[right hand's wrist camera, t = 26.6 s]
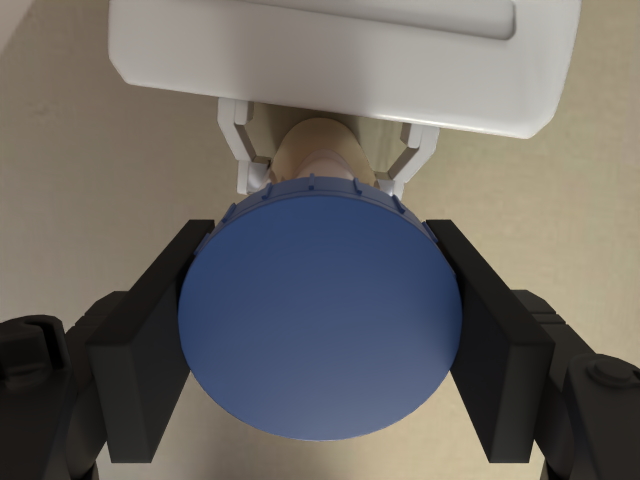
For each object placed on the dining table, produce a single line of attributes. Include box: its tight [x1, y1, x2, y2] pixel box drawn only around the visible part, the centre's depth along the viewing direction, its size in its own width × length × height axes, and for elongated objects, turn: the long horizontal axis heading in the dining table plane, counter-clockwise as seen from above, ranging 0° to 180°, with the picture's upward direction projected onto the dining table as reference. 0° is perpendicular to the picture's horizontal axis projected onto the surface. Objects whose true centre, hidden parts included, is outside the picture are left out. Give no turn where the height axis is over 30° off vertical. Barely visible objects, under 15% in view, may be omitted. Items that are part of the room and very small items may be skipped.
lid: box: [177, 173, 463, 441], centre depth 11 cm, size 7×7×2 cm
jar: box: [257, 117, 383, 192], centre depth 20 cm, size 5×5×19 cm
